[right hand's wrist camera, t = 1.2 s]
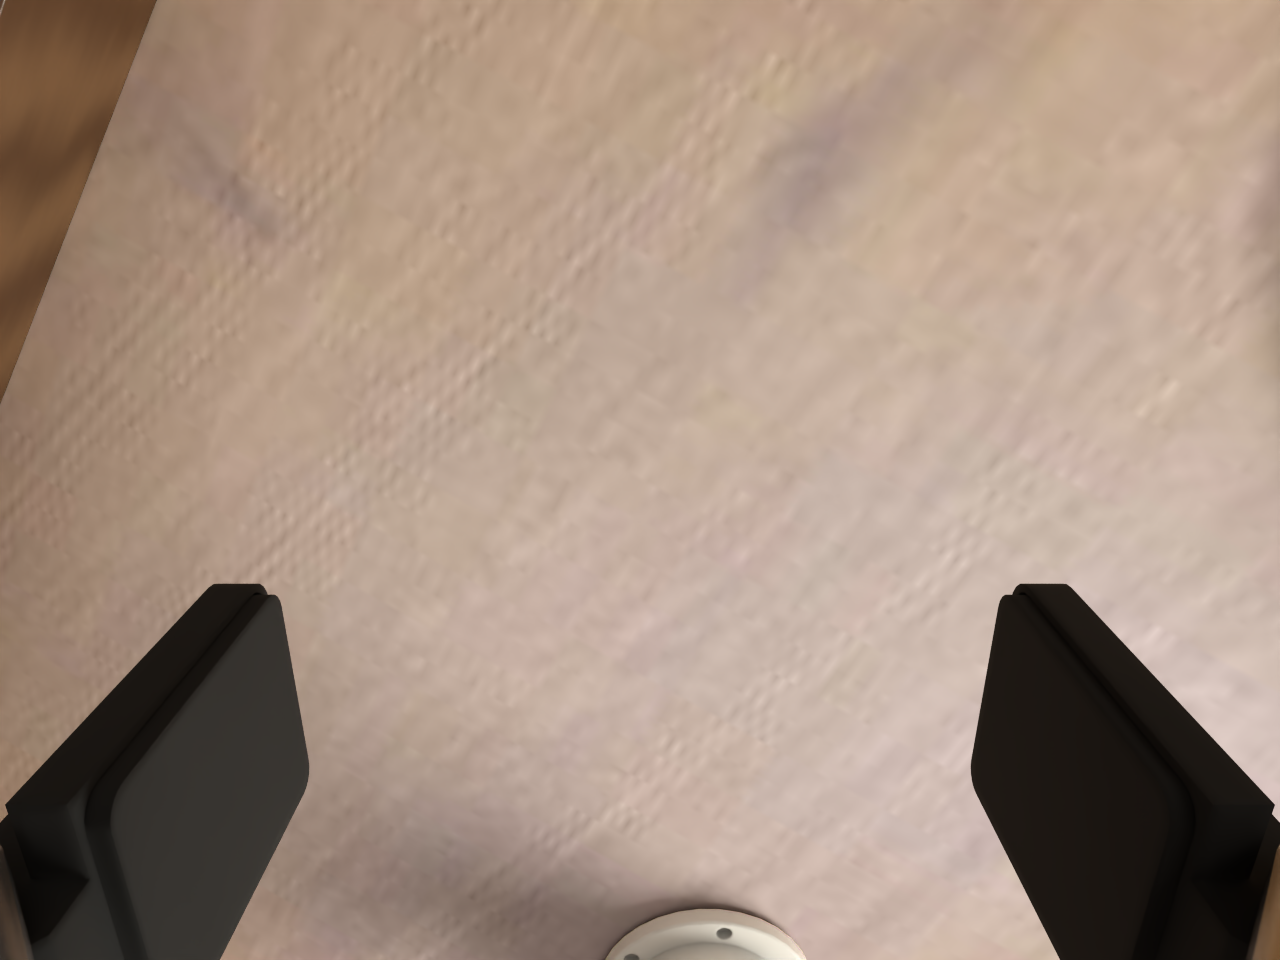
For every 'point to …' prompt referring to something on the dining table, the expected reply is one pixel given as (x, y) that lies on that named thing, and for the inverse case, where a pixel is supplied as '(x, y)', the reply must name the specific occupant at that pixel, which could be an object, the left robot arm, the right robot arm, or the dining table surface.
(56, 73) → the beam
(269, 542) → the dining table surface
